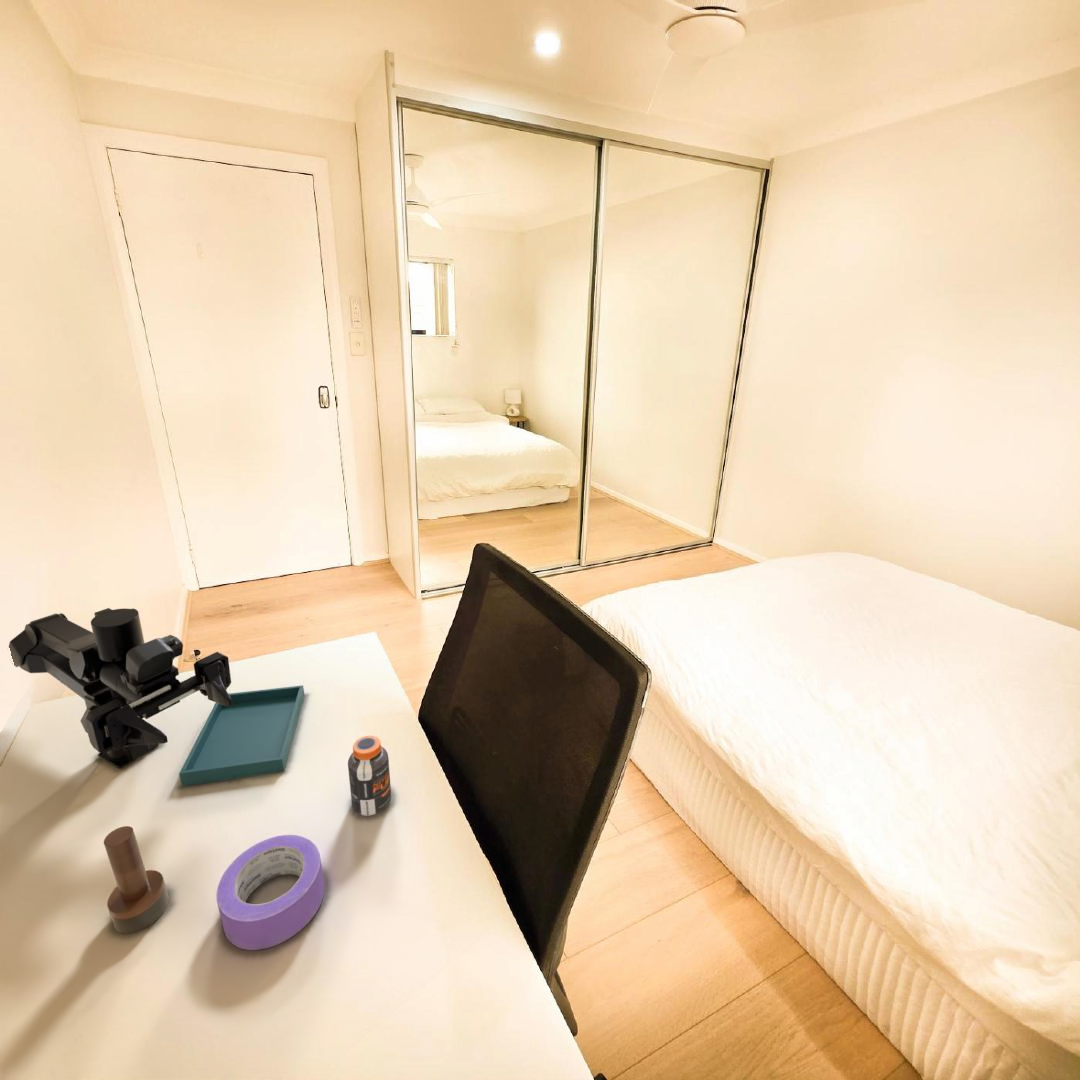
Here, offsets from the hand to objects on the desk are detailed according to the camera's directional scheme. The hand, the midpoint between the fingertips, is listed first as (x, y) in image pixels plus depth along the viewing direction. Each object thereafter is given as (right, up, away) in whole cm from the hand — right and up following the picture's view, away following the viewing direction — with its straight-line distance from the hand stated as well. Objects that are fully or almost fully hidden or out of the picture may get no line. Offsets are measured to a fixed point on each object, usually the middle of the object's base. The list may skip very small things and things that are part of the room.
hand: (200, 720), depth 76 cm
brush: (-1, -21, -9) cm, 23 cm away
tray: (-4, -10, +21) cm, 24 cm away
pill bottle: (+22, -16, +8) cm, 28 cm away
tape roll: (+15, -21, -8) cm, 27 cm away
